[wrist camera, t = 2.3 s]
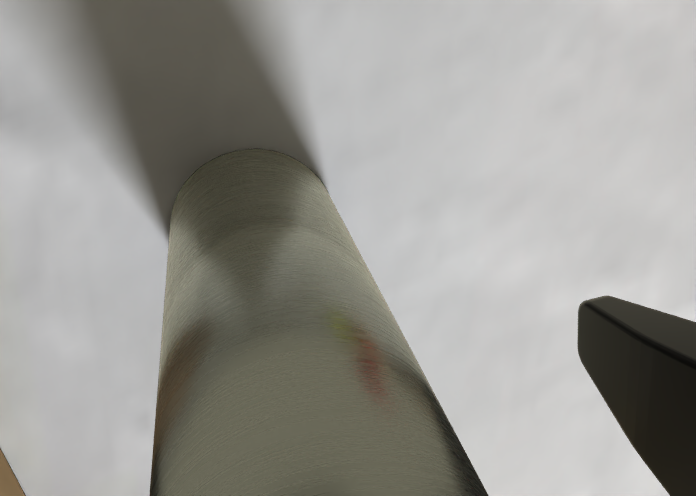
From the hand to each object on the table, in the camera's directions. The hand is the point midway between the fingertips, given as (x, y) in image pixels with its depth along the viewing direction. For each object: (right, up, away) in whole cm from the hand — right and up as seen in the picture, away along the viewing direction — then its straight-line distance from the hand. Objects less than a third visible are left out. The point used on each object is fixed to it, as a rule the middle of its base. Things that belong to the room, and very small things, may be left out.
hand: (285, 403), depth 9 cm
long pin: (-1, +3, +5) cm, 6 cm away
